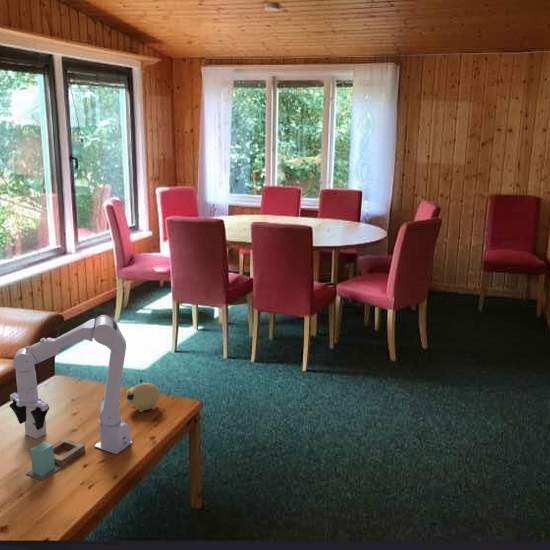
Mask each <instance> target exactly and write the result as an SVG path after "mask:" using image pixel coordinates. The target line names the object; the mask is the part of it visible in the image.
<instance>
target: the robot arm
mask: <svg viewBox="0 0 550 550" xmlns="http://www.w3.org/2000/svg"><path fill="white" fill-rule="evenodd" d="M82 340H86V341H89V342H94V341H95V342H96V343H98V344H100V345H102V346H105V347H107V348H108V349H109V350H110V354H109V361H108V367H107V368H108V369H107V376H106V382H105V389H104V394H103V397H102V399H101V400H100V403H99V417H98V428H99V440H100V441H99V442H97V443H96V444H94V447H95V448H97V449H100V450H103V451H106V452H109V453H111V454H114V455H118V454H119V453H120V452H121V451H123V450H124V449H126V448H127V447H129V446H130V445H132V444H133V441H132V440H131V429H130V425H129V424H128V423H126V422H125V421H124V420H123V419H122V418H123V417H122V415H120V393H121V391H120V390H121V384H122V378H123V371H124V364H125V357H126V350H127V341H126V339H125V337H124V335H123V333H122V331H121V330H120V328H119V325H118V323H117V321H116V320H115V319H113V318H112V317H110V316H109V315H106V314H101V315H98V316H97V317H96V318H92V319H89V320H87V321H86V322H84V323H82V324H80V325H78V326H77V327H75V328H72V329H71V330H69V331H68V332H66V333H65V332H64V333H62V335H60V336H58V337H56V338H52V337H47V338H45V337H42V338H40V340H39V341H38V342H36V343H33V344H31V345H26V346H25V347H21V348H20V349H18V350H17V351H16V352H15V354H14V358H13V361H12V365H13V368H14V369H15V379H16V388H17V392H13V393H11V394H10V395H9V400H10V402H12V403H10V404H9V407H10V408H11V410H12V411H13V413H14V415H15V416H16V419H17V421H18V423H19V424H20V425H22V424H25V421H26V407H27V406H32V407H36V409H35V410H33V411H31V414H32V416H33V418H34V420H35V425H36V429H37V430H39V429H41V428H43V425H44V420H46V417H47V414H48V412H49V410H50V406H49V403H48V402H46V401H44V399H42V398H41V397H40V396H39V391H38V390H39V389H38V381H37V371H36V367H35V365H36V364H40V363H41V362H43V361H45V360H48V359H50V358H51V357H54V356H56V355H58V352H59V350H60V349H62V348H65V347H66V346H69V345H71V344H74V343H76V342H79V341H82Z"/></svg>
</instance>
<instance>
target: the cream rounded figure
mask: <svg viewBox="0 0 550 550" xmlns="http://www.w3.org/2000/svg"><path fill="white" fill-rule="evenodd" d="M160 395H161V394H160V391H159V388H158V386H157V385H155V384H154V383H152V382H142V383H139V384H137V385H134V386H130V387H129V388H128V389H127V390H126V393H125V399H126V401H127V403H128V404H130V405H133V406H134V407H135V408H136V409H137V410H138V411H139V413H140V412H142V413H144V411H146V410H156V408H157V407H156V406H157V404H158V403H159V400H160Z"/></svg>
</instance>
